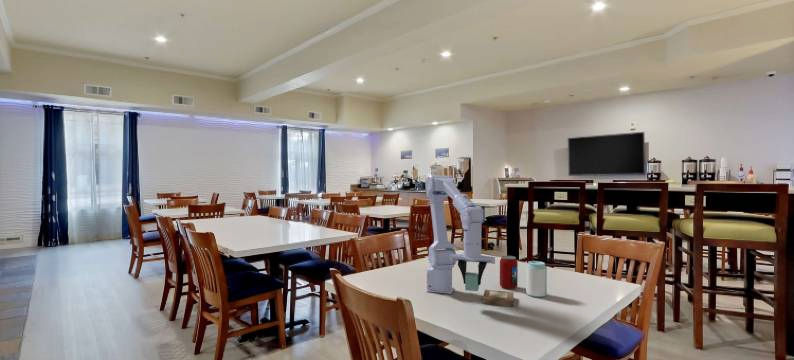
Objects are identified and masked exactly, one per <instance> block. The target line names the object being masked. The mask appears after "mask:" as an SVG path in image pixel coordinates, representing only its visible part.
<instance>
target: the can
mask: <svg viewBox="0 0 794 360" xmlns="http://www.w3.org/2000/svg"><path fill="white" fill-rule="evenodd" d="M527 263H528V264H526V267H525V269H526V271H525V272H526V273H525V275H526V276H525V277H526V278H525V279H526V280H525V283H526V284H525V288H526V289H525V293H526V294H527V295H528V296H530V297H532V298H544V297H545V296H547V294H548V293H547V291H548V290H547V285H548V284H547V282H548V279H547V278H548V277H547V275H548V273H547V272H548V269H547V266H546V263H545V262H543V261H539V260H536V261H535V260H532V261H531V260H530V261H528V262H527Z"/></svg>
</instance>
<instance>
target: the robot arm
mask: <svg viewBox="0 0 794 360" xmlns="http://www.w3.org/2000/svg"><path fill="white" fill-rule="evenodd" d="M425 192H426V193H425V194H426V197H427V198H428V199H429V203H430V213H431V221H432V229H433V231H432V232H433V239H434V242H433V243H432V244H431V245H430V246H429V247H428V254H427V255H428V256H427V258H428V263H429V265H430V266H429V265H428V267H427V269H426V292H427V293H438V294H439V293H441V294H453V292H454V290H455V286H453V268H454V267H455V265H456V263H457V266H458V268H459V272H460V273H461V277H462V280H463V284H465V275H466V273H467V265H468V263H478V265H477V269H478V272H477V273H478V285H479V286H480V285H481V283H482V282H481V281H482V277H483V275H484V272H485V269H486V267H487V265H488V264H492V265H495V264H496V256H487V255H482V224H484V222H485V220H486V212H485V210H484V208H483V206H480V205H475V203H474V202H473V201H472V200H471V199H470V197H469V196H468V195H467V193H461V192H460V190H459V189H458V188H457V186H456V181H455V178H454V177H453V176H452V175H451V174H450V175H431V174H430V175H428V176H427V178H426V180H425ZM448 197H450V198H451V199H452V205H453V207H454V208H455V209H456V211H457V212H458V213H459V214H460V215H459V216H460V220H461V227H462V229H463V253H461V254H458V253H457V252H456V249H455V245H454V244H453V243H452V242H450V241H449V240H448V231H447V223H446V217H445V216H446V215H445V207H444V200H445V199H446V198H448ZM467 262H468V263H467Z"/></svg>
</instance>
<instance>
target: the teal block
mask: <svg viewBox="0 0 794 360" xmlns="http://www.w3.org/2000/svg"><path fill="white" fill-rule="evenodd" d="M479 288H480V285H478V272H471V271H470V272H469V271H466V275H465V287H464V289H465V291H472V292H479Z"/></svg>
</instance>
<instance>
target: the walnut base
mask: <svg viewBox="0 0 794 360" xmlns="http://www.w3.org/2000/svg"><path fill="white" fill-rule="evenodd" d="M482 304H483V305H493V306H504V307H514V292H513V291H503V290H491V289H484V292H483V296H482Z"/></svg>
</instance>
